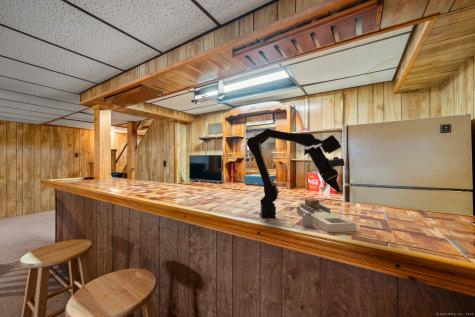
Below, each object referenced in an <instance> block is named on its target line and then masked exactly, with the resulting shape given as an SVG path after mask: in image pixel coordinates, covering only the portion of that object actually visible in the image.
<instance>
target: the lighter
mask: <svg viewBox="0 0 475 317" xmlns="http://www.w3.org/2000/svg"><path fill="white" fill-rule="evenodd" d="M295 210H296V212H297V211H298V213H297V214H298V216H299V217H302V226H303V227H304V226H306V227H314V223H313V215H311V213H307V212H306V214H303V213H302V211H301V209H300V205H298V204H297V205H296V206H295ZM301 215H303V216H301Z"/></svg>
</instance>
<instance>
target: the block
mask: <svg viewBox="0 0 475 317" xmlns="http://www.w3.org/2000/svg"><path fill="white" fill-rule="evenodd" d="M304 204H305V205H307V206H309V207H311V208H313V209H314V210H319V204H320V200H319V199H317V198H305V199H304Z"/></svg>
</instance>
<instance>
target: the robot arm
mask: <svg viewBox="0 0 475 317" xmlns="http://www.w3.org/2000/svg"><path fill="white" fill-rule="evenodd" d="M269 139H276V140H280V141H287V142H291V143H295V144H298V145H300V146H303V147H305V148H304V153H303V155H304V156H306V155H309V158H310V159H311V160H312V162H313V164H314V166H315V168H316V169H317V171H318V174H319V175H320V177H321V179H322V180H323V181H324V182H325V183H326V184H327V185H328V186H330V187H331V188H332V189H334V191H336V192H337V193H340V192H341V188H340V185H339V182H338V177H339V172H338V170H337V169H335V168H336V167H344V166H345V159H344V158H342V157H341V158H339V157H338V156H335V157H332V158H333V159H329V158H328V157H327V156H326V155H325V154H326V153H327V154H332V153H333V152H335V151H337V150H339V149H341V148H342V145H341V143H340V142H339V140H337V138H336V137H335V136H334V134H331V135H329V136H328V137H326V138H324V139H323V140H321V139H318V138H316V137H315V136H314V135H313V134H312V133H292V132H291V133H290V132H286V131H281V130H274V129H271V128H266V129H265V130H263V131H262V132H260V133H258V134H256V135H255V136H250V137H249V138H248V139H247V141H246V145H247V146H246V147H248V149H249V151H250V153H251V154H252V156H253V157H254V160H255V164H256V166H257V168H258V172H259V174H260V177H261V181H262V183H263V192H264V193H263V194H264V196H263V197H262V198H261V199H260V213H259V215H260V217H261V218H263V219H269V218H272V219H275V218H276V217H277V216H276V214H277V211H276V210H277V208H276V204H275V203H274V202H275V201H276V200H277V199H278V197H279V192H280V190H279V188H278V185H277V183H274V182H273V181H272V179H271V175H270V173H269V170H268V167H267V164H266V161H265V158H264V155H263V149H262V148H263V147H262V144H264V143H265V142H266V141H268V140H269ZM315 146H316V147H315ZM307 148H308V149H307ZM324 153H325V154H324Z"/></svg>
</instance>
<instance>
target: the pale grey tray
mask: <svg viewBox="0 0 475 317" xmlns="http://www.w3.org/2000/svg"><path fill="white" fill-rule="evenodd" d="M299 204H300V205H299V207H300V209H301V211H302V213H303V214H306V212H307V213H311V215H313V225H316V226H317V227H319V228H320V229H322V230H323V231H324V232H326V233H337V232H338V233H340V232H341V233H342V232H356V231H357V223H356V222H355V221H352V220H350V219H348V218H346V217H343V216H341V215H339V214H337V213H334V212H332V211H331V208H330V207H327V206H326V205H323V204H320V203H319V210H314V209H313V208H311V207H309V206H307V205H305V203H299ZM296 213H297V214H298V211H297V210H296ZM300 217H303V215H301V216H300Z"/></svg>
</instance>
